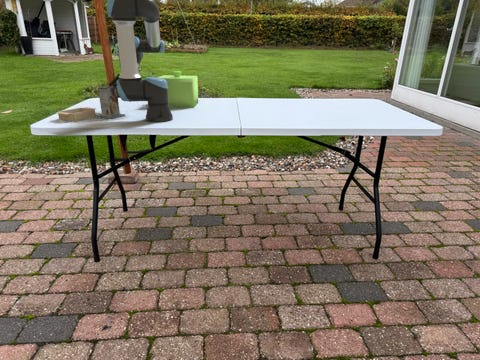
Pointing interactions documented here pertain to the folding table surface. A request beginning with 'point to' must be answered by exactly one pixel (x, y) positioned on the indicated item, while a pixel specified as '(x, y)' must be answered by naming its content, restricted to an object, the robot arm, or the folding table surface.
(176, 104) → the canister
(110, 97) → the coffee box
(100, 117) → the mat
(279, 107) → the folding table surface
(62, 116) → the carton
